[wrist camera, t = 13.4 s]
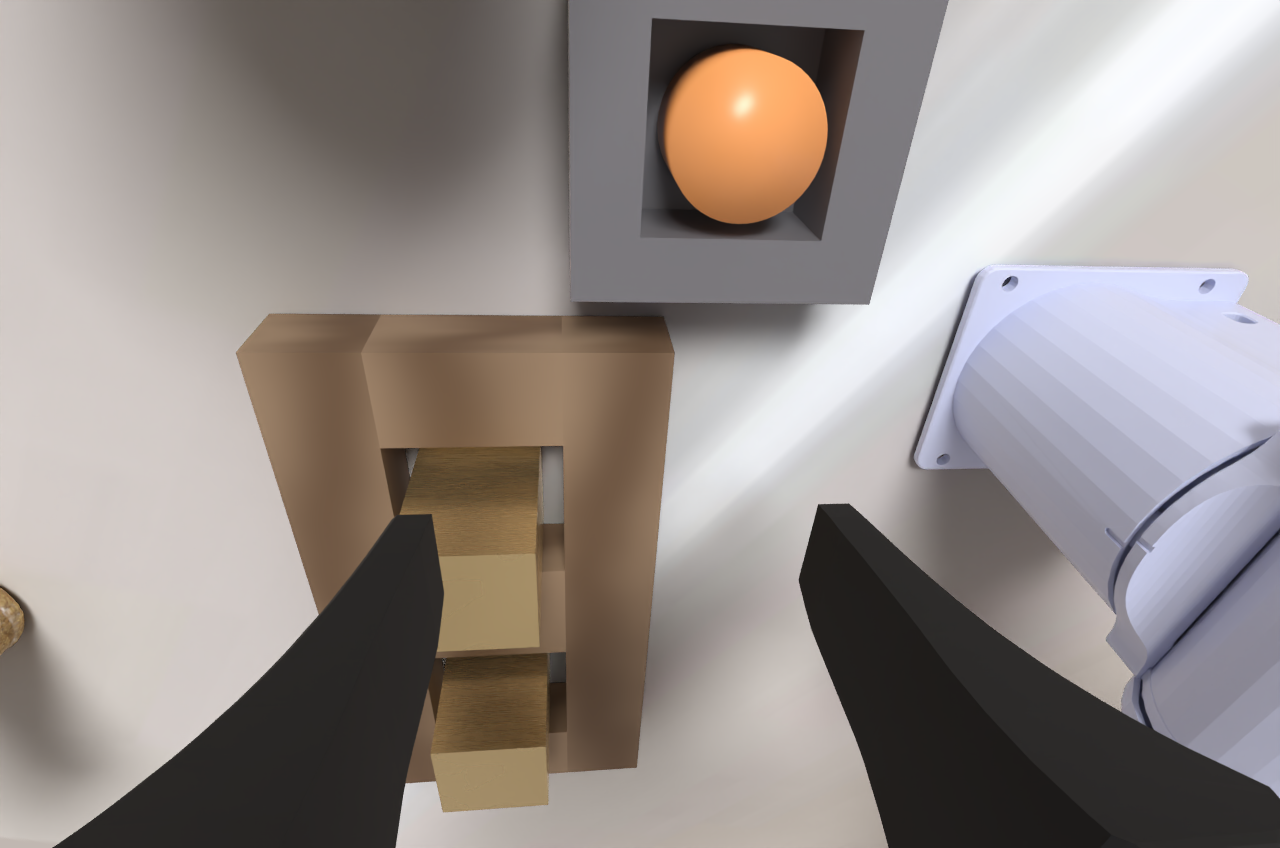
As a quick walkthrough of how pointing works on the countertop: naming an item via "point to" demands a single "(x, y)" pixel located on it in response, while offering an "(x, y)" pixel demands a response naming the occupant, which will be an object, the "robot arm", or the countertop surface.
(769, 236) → the button housing
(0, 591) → the sprinkles bottle
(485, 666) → the block
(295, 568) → the countertop surface
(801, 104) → the button
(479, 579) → the loose billet
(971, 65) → the countertop surface
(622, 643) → the wooden socket board
